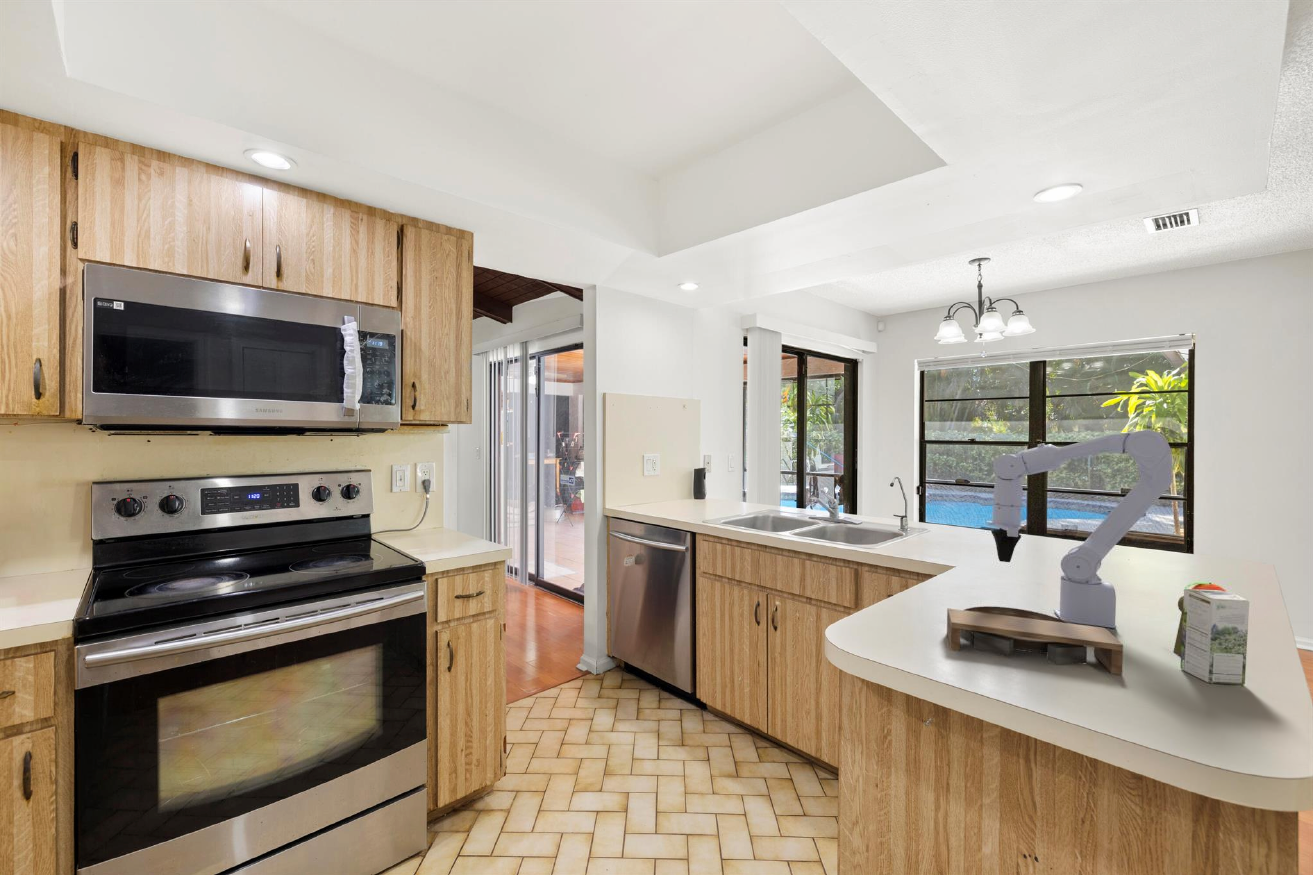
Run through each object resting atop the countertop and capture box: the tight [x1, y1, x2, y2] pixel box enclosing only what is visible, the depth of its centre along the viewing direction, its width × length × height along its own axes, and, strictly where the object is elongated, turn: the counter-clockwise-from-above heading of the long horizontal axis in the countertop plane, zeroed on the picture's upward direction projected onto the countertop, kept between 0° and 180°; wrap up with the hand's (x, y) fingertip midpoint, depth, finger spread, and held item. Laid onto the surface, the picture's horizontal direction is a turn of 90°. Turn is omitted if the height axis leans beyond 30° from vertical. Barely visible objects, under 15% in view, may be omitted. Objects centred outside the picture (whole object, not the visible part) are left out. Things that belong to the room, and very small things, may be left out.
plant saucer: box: [963, 605, 1071, 653], centre depth 113 cm, size 21×21×3 cm
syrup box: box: [1179, 588, 1250, 686], centre depth 95 cm, size 6×6×14 cm
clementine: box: [1183, 582, 1227, 592], centre depth 130 cm, size 8×7×7 cm
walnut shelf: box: [946, 608, 1124, 676], centre depth 105 cm, size 26×9×5 cm, turn 67°
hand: (1004, 561), depth 134 cm, fingers closed
